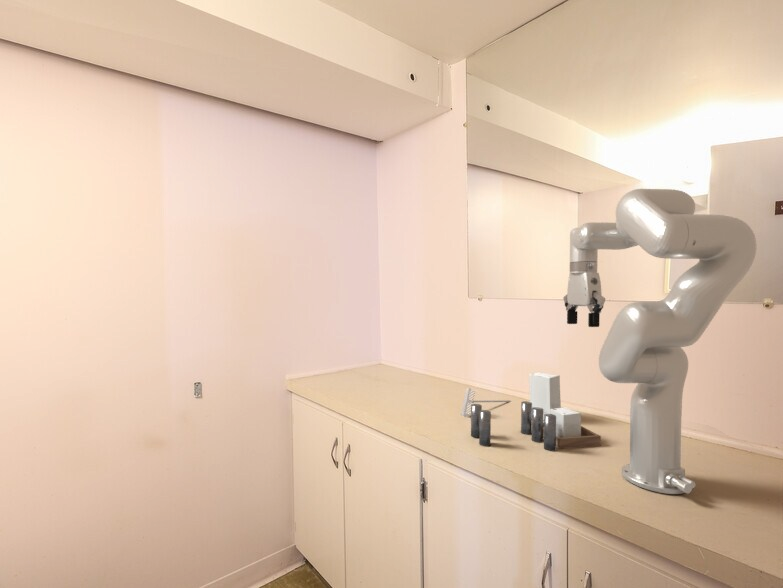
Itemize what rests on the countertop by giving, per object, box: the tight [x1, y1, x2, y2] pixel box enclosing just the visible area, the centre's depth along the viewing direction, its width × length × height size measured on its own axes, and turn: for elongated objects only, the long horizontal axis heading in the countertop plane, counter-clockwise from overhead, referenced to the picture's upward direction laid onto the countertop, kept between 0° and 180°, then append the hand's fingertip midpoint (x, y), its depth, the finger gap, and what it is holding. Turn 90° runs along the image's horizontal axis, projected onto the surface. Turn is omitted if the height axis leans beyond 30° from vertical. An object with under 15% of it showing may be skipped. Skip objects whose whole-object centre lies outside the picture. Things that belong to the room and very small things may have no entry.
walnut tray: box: [543, 422, 602, 449], centre depth 112 cm, size 13×13×3 cm
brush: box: [460, 387, 511, 418], centre depth 140 cm, size 4×27×9 cm, turn 128°
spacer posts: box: [470, 400, 557, 452], centre depth 109 cm, size 15×19×9 cm
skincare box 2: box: [550, 406, 582, 438], centre depth 113 cm, size 6×6×7 cm
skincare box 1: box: [528, 371, 562, 422], centre depth 130 cm, size 8×6×15 cm
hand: (582, 325), depth 118 cm, fingers open, 9 cm apart
